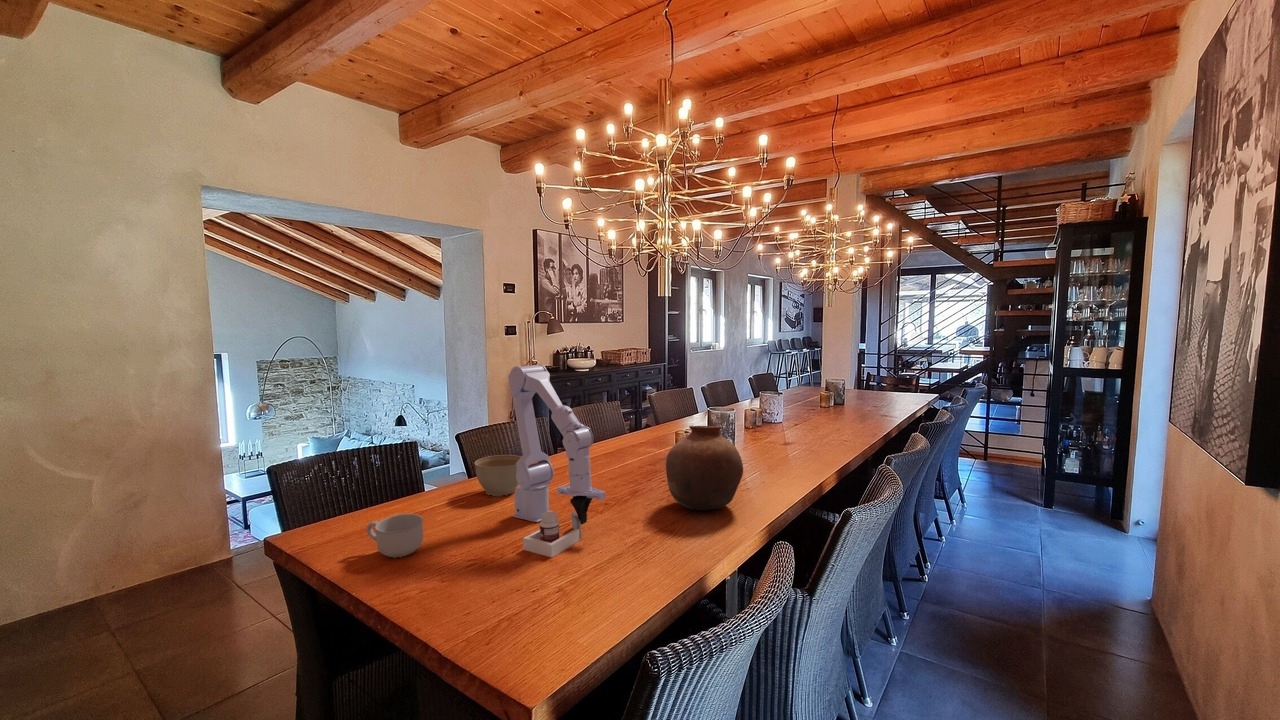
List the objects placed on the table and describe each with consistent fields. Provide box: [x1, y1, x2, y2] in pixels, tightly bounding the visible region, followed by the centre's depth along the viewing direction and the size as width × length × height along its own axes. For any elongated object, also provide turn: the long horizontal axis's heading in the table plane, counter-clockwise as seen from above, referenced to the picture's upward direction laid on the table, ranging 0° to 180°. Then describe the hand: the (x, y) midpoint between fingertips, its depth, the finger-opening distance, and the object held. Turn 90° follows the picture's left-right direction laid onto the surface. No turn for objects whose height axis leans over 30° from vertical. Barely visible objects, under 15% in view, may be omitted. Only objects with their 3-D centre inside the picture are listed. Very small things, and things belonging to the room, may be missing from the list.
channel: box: [522, 529, 580, 558], centre depth 133 cm, size 9×11×3 cm
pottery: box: [665, 425, 744, 511], centre depth 159 cm, size 23×23×25 cm
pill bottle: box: [539, 511, 560, 543], centre depth 132 cm, size 5×5×8 cm
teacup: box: [366, 513, 424, 559], centre depth 131 cm, size 14×11×8 cm
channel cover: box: [571, 510, 582, 540], centre depth 140 cm, size 9×1×4 cm, turn 18°
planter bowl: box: [474, 454, 522, 497], centre depth 175 cm, size 16×16×11 cm
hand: (582, 523), depth 141 cm, fingers closed, pressing on channel cover
